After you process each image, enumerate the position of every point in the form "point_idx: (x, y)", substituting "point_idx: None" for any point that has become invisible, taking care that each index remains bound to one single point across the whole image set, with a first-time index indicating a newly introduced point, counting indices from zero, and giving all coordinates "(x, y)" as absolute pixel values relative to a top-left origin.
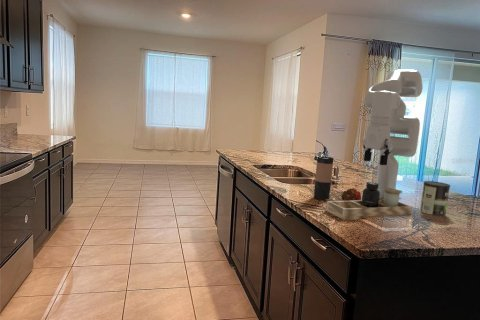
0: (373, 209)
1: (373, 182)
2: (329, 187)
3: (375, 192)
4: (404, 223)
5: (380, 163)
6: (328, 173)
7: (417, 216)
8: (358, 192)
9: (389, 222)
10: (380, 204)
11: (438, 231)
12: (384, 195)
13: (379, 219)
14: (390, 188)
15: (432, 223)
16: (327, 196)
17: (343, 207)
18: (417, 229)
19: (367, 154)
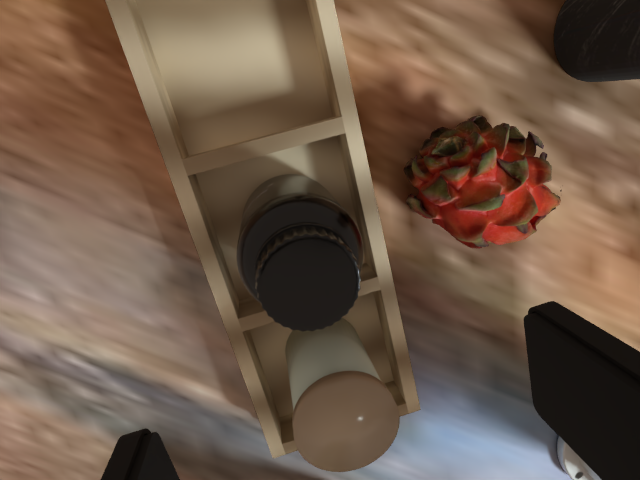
0: (184, 209)
1: (345, 305)
2: (628, 53)
3: (240, 267)
4: (132, 339)
5: (117, 448)
6: None
7: None
8: (474, 227)
9: (130, 266)
10: None
11: (34, 446)
12: (347, 357)
13: (177, 232)
14: (392, 430)
15: None
16: (573, 53)
17: (322, 65)
18: (36, 362)
19: (618, 416)
